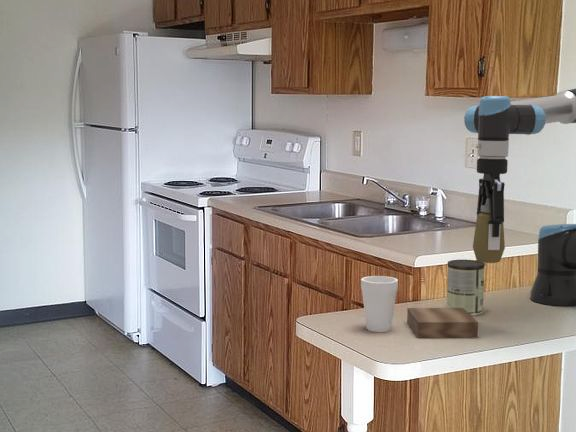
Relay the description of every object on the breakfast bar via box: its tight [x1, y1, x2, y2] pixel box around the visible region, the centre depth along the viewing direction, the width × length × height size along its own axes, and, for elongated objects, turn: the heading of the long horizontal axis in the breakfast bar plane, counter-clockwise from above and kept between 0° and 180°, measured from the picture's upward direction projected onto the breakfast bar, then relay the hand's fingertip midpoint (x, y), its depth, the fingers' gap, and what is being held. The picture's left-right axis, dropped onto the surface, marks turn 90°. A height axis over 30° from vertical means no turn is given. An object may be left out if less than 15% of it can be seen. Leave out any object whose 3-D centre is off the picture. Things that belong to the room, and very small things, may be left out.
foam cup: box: [360, 275, 399, 333], centre depth 206 cm, size 10×9×13 cm
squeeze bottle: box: [472, 198, 506, 264], centre depth 203 cm, size 8×8×18 cm
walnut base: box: [406, 307, 479, 339], centre depth 206 cm, size 15×15×4 cm
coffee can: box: [446, 259, 486, 317], centre depth 225 cm, size 10×10×14 cm
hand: (488, 246), depth 204 cm, fingers closed on squeeze bottle, 8 cm apart
